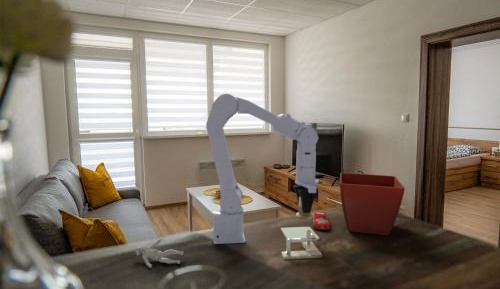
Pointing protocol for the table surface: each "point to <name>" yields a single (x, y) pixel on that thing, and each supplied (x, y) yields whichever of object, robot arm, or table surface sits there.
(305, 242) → the wire frame
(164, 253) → the soldier figure
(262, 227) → the table surface
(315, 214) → the race car
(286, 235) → the sage mat
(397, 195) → the plant pot
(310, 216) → the ringed peg
